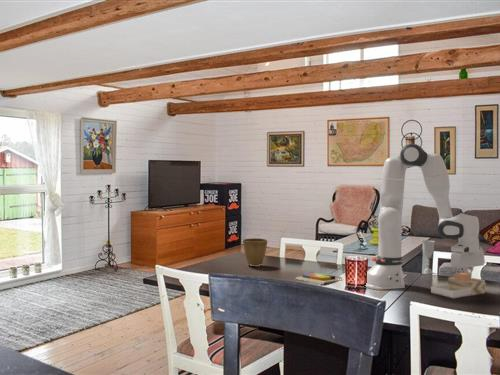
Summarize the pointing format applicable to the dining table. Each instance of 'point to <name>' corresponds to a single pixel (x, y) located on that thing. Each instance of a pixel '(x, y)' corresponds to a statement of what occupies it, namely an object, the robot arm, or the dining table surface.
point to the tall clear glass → (428, 253)
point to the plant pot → (255, 250)
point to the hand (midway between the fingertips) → (468, 276)
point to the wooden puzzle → (319, 278)
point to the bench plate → (467, 285)
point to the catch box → (449, 291)
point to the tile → (463, 276)
